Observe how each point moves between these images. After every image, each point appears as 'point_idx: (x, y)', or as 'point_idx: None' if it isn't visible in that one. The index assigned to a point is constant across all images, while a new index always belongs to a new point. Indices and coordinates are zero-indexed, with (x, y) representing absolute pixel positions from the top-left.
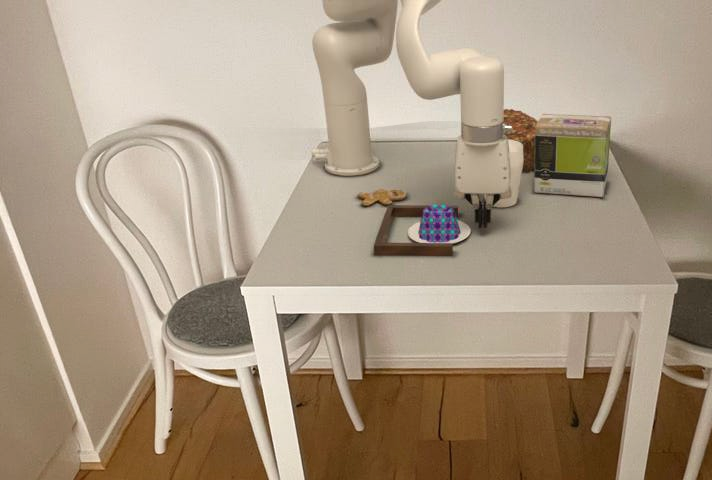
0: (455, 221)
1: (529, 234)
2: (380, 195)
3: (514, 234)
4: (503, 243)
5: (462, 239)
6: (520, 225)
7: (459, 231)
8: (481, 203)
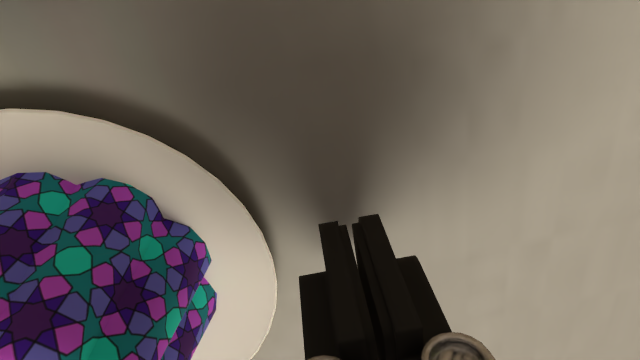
0: (170, 340)
1: (618, 164)
2: None
3: (529, 182)
4: (464, 285)
5: (256, 346)
6: (586, 43)
7: (204, 271)
8: (364, 344)
